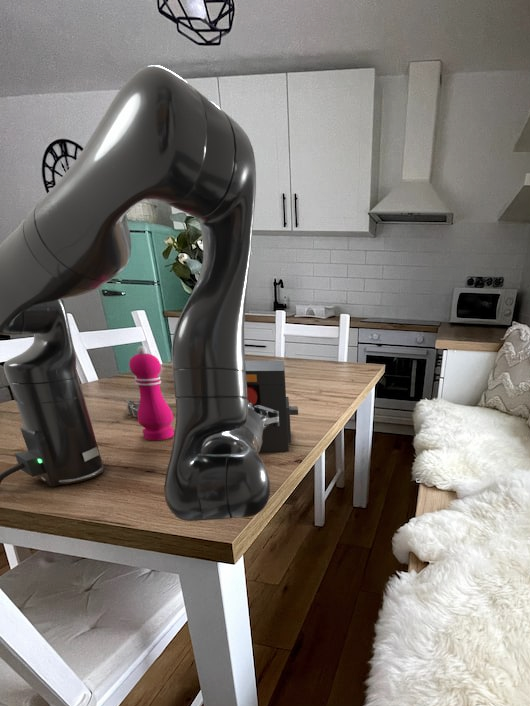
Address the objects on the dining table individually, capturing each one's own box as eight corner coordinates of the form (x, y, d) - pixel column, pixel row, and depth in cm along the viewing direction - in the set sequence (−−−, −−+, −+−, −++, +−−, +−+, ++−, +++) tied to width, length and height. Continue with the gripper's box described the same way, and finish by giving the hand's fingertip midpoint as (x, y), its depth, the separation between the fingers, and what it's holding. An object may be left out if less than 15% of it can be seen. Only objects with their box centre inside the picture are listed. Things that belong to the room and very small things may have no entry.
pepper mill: (163, 442, 87) (144, 348, 79) (134, 439, 89) (113, 346, 80) (182, 432, 94) (167, 344, 85) (155, 430, 95) (138, 343, 86)
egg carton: (125, 413, 108) (122, 398, 106) (154, 408, 113) (151, 394, 111) (139, 421, 101) (136, 405, 99) (169, 416, 106) (166, 401, 104)
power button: (258, 403, 80) (256, 386, 79) (257, 406, 78) (256, 388, 77) (239, 404, 80) (238, 386, 78) (238, 407, 78) (236, 389, 76)
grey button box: (298, 432, 97) (295, 360, 89) (300, 451, 85) (297, 370, 78) (223, 434, 93) (214, 360, 86) (216, 454, 82) (204, 371, 75)
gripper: (280, 410, 56) (280, 384, 72) (182, 412, 54) (204, 385, 69) (283, 458, 60) (282, 424, 75) (191, 462, 57) (210, 426, 73)
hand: (245, 405), depth 72 cm, fingers closed
